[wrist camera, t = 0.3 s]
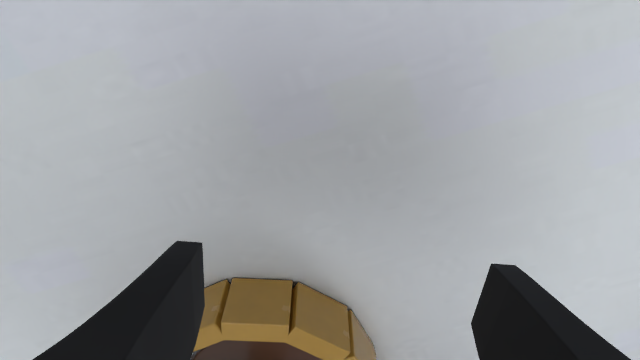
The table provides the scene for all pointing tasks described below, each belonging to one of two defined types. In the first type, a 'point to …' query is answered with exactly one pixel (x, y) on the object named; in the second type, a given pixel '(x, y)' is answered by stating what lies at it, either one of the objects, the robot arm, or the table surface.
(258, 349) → the knob on round base
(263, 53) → the table surface
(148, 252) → the table surface
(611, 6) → the table surface
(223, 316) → the hoop
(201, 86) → the table surface
